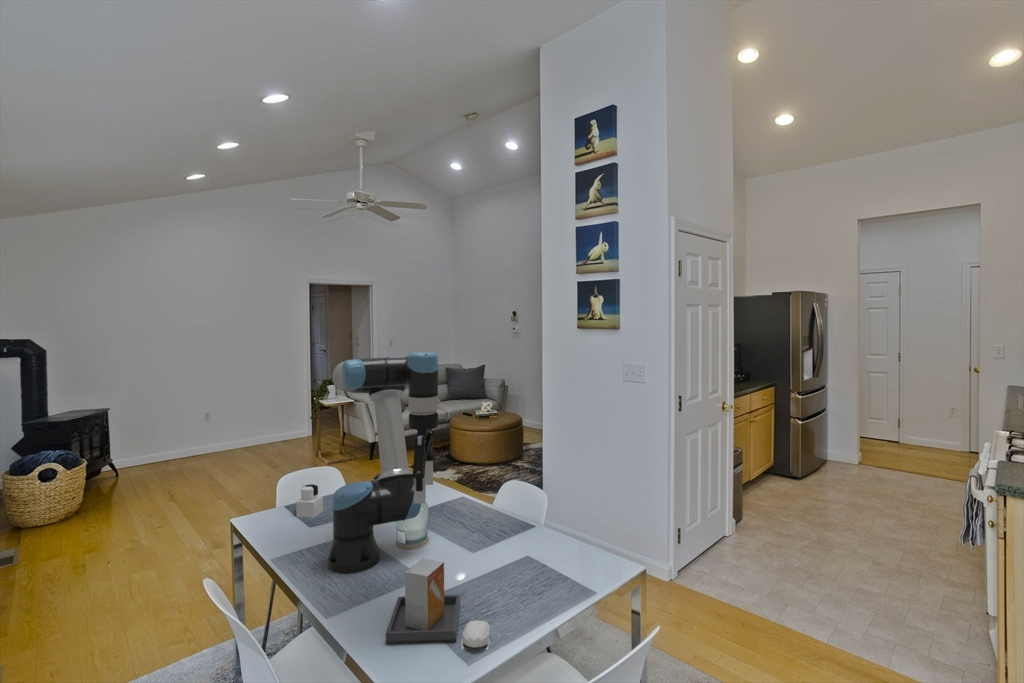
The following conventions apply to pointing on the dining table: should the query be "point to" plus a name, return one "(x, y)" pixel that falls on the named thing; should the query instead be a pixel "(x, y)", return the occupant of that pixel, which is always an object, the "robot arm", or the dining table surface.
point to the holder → (438, 633)
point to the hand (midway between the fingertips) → (424, 493)
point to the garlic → (476, 634)
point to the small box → (424, 594)
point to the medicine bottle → (309, 502)
